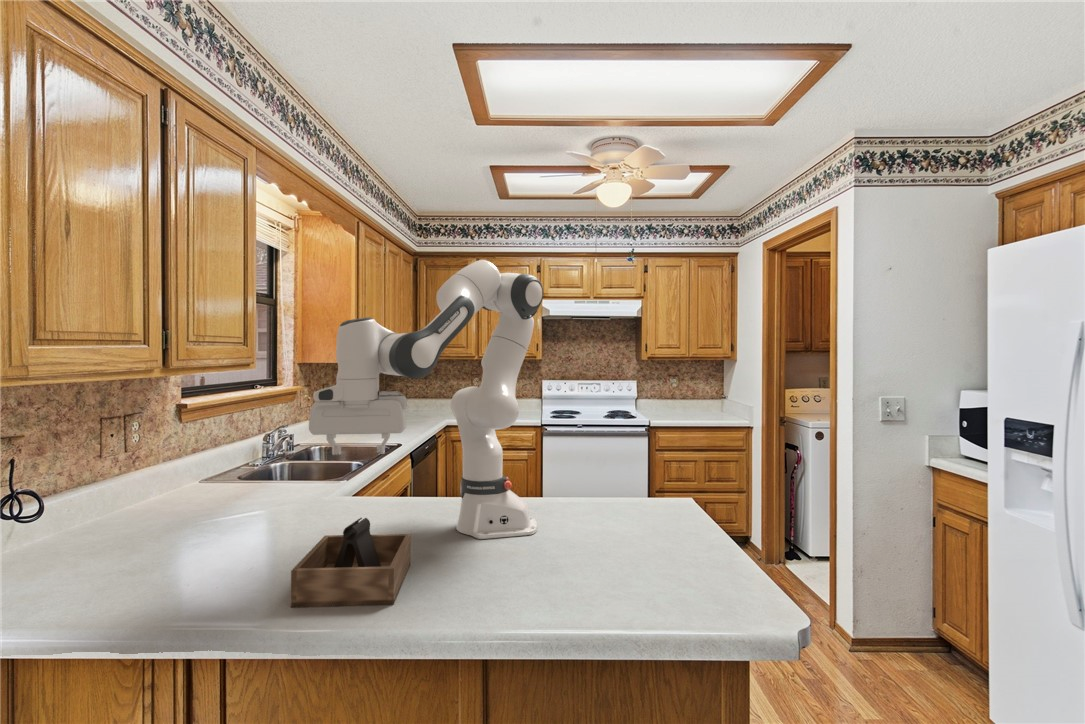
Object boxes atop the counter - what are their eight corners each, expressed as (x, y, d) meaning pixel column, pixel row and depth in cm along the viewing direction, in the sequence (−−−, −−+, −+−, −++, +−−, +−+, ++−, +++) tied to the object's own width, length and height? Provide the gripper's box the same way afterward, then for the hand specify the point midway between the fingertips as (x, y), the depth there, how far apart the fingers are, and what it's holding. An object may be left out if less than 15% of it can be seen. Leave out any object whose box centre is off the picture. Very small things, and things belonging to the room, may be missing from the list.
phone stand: (383, 574, 110) (383, 518, 110) (370, 587, 104) (371, 527, 104) (343, 571, 111) (343, 516, 111) (328, 584, 105) (329, 525, 105)
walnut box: (410, 564, 118) (410, 534, 118) (393, 604, 99) (393, 568, 99) (324, 566, 116) (324, 535, 116) (290, 607, 97) (291, 570, 97)
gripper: (408, 389, 118) (409, 450, 118) (315, 390, 116) (316, 452, 116) (403, 392, 111) (404, 455, 112) (305, 393, 109) (306, 458, 110)
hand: (358, 454), depth 114 cm, fingers open, 8 cm apart
